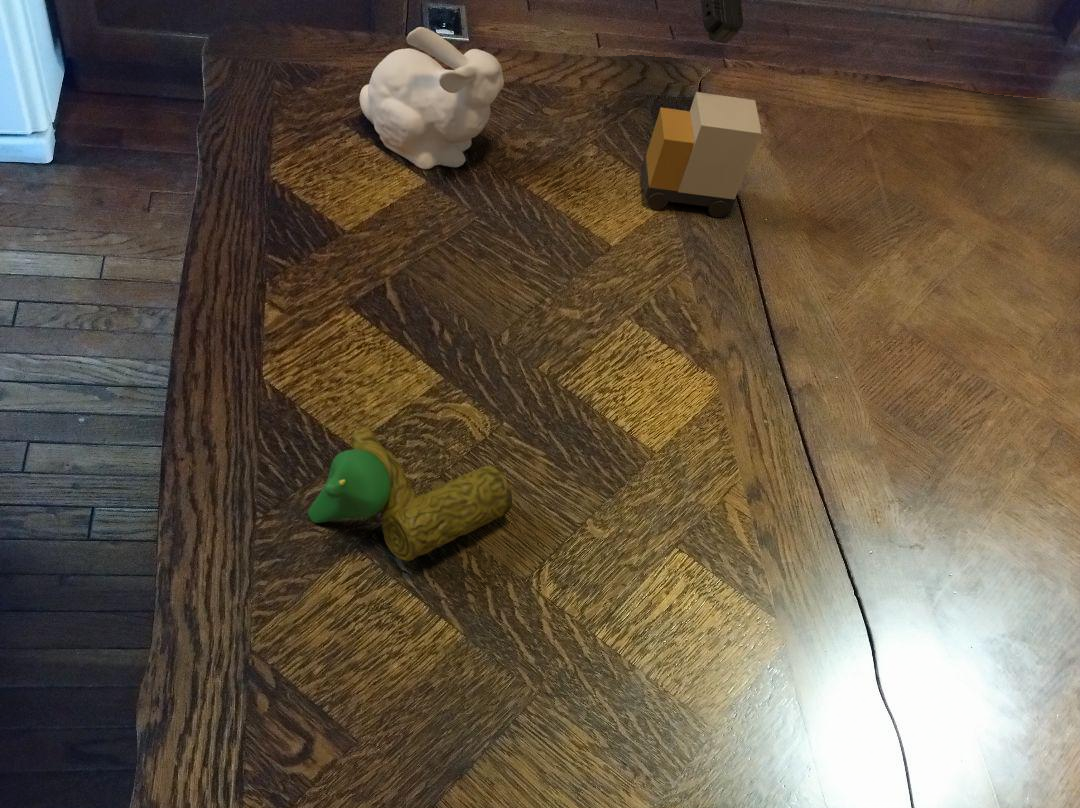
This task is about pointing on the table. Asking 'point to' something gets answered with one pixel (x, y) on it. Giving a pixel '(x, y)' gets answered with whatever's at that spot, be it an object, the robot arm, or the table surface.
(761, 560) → the table surface
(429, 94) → the rabbit
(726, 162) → the cream truck
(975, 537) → the table surface
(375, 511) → the bird figurine
